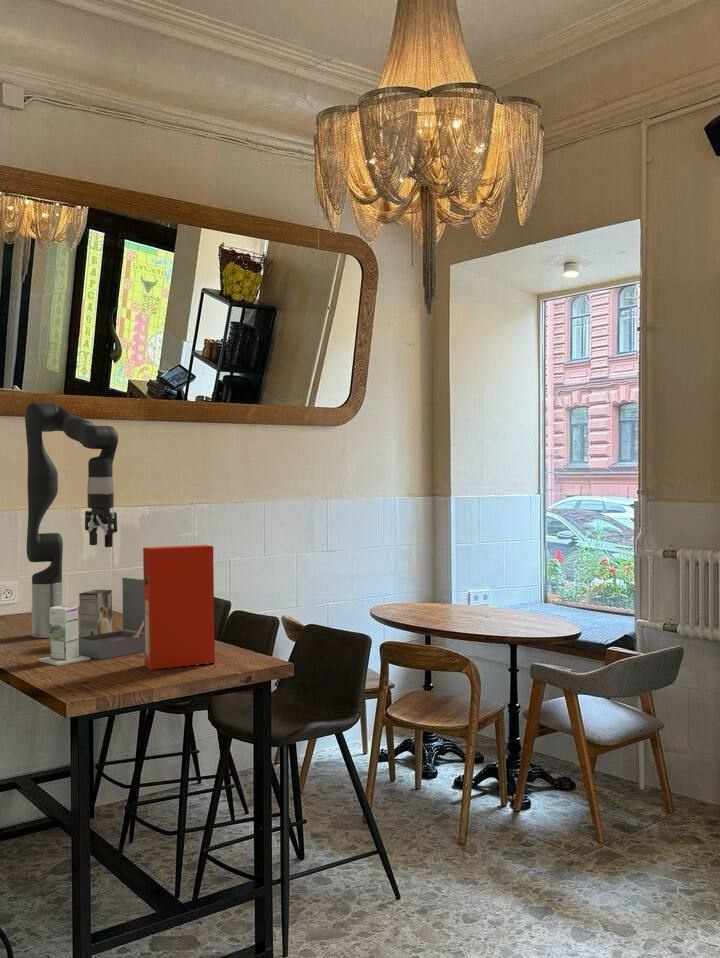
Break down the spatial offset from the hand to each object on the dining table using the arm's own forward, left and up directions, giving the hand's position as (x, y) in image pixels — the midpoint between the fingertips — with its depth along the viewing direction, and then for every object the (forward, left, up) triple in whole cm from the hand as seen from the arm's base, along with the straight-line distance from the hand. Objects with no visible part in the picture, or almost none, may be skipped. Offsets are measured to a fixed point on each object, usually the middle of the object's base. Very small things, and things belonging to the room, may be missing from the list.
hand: (100, 546), depth 267 cm
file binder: (+38, 0, -31) cm, 49 cm away
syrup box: (+8, -17, -30) cm, 36 cm away
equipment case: (+8, -2, -31) cm, 32 cm away
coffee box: (-8, +3, -31) cm, 32 cm away
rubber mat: (+8, -17, -31) cm, 36 cm away
